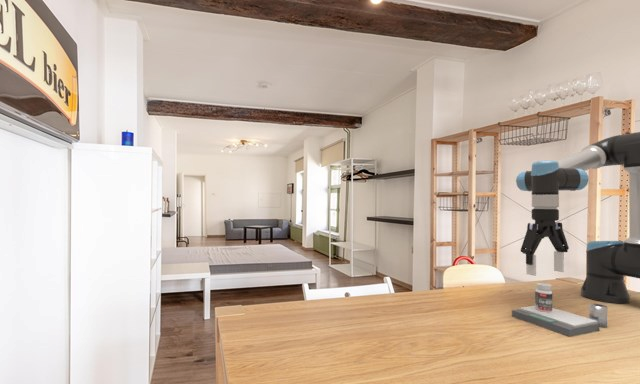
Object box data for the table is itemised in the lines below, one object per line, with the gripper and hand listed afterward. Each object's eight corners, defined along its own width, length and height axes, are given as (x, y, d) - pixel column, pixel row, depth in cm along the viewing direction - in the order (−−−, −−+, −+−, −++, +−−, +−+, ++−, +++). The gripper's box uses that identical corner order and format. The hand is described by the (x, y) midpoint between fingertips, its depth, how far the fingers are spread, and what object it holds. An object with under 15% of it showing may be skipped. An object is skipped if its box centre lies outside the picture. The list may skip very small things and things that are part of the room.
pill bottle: (538, 311, 112) (538, 285, 112) (532, 307, 116) (532, 282, 116) (555, 313, 111) (555, 286, 111) (548, 308, 115) (548, 283, 115)
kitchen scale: (540, 311, 120) (540, 304, 120) (599, 330, 103) (599, 321, 103) (511, 316, 114) (512, 308, 114) (569, 336, 98) (569, 327, 98)
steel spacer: (594, 321, 111) (594, 302, 111) (610, 326, 107) (610, 306, 107) (586, 323, 109) (586, 304, 109) (601, 328, 105) (602, 308, 105)
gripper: (557, 207, 122) (558, 267, 122) (507, 208, 112) (508, 273, 112) (581, 208, 115) (581, 272, 115) (529, 208, 105) (530, 279, 105)
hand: (545, 273), depth 114 cm, fingers open, 13 cm apart
